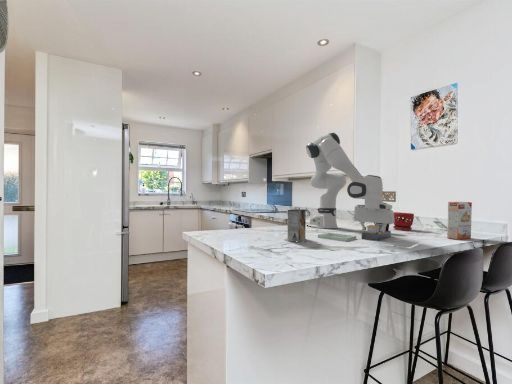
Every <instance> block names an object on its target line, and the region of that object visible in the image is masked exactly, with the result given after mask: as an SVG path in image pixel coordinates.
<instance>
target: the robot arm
mask: <svg viewBox="0 0 512 384" xmlns="http://www.w3.org/2000/svg"><path fill="white" fill-rule="evenodd" d="M340 144H341V140H340V137H339V135H338V134H337V133H336V132H329V133H328V134H324V135H322V136H320V137H318V138H317V139H315V140H312V141H310V142H309V143H307V144H306V146H305V150H306V154H307V155H308V157H309V158H311V159H313V162H314V165H315V173H314V174H313V175H312V177H311V178H310V184H311V186H312V187H313V188H314V189H319V190H321V189H322V190H323V189H326V190H327V191H326V192H325V193H323V194H322V195H321V196H320V198H319V207H318V208H316V211H317V212H316V214H314V215H313V216H311V217H310V220H309V223H308V224H306V226H307V225H308V226H307V227H309V226H311V227H310V228H316V229H338V228H339V227H338V223H337V208H336V206H337V197H338V194H339V192H340V191H341V190H342V189H343V188H344V187H345V186H346V184H347V177H348V178H349V180H350V181H351V182H350V183H349V184H348V186H347V187H346V188H347V189H346V191H347V194H348V196H349V197H350V198H352V199H356V200H357V199H358V200H360V199H362V200H364V204H357V205H355V206H354V215H353V220H354V221H355V222H360V225H361V228H362V231H367V226H365V223H373V224H374V223H375V224H376V223H383V228H381V229H380V232H384V229H385V227H386V226H387V224H389V225H394V213H393V212H394V211H393V210H392V209H393V205H392V204H389V203H387V202H384V201H383V192H384V190H383V189H384V187H383V179H382V177H381V176H379V175H373V174H367V175H365V176H363V175H362V174H361V172H359V170H358V168H356V166H355V165H354V164H353V163H352V161H351V160H350V158H349V157H348V156H347V153H346V152H345V151H344V149H343V148H342V146H341V145H340ZM332 168H333V169H335V170H338V171H340V172H342V173H344V174H345V175H346V176H347V177H346V176H345V175H344V174H342V173H337V172H334V173H327V172H329V171H330V170H331V169H332Z"/></svg>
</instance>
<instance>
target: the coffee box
mask: <svg viewBox="0 0 512 384" xmlns="http://www.w3.org/2000/svg"><path fill="white" fill-rule="evenodd" d="M306 212H307V211H306V209H303V208H302V209H301V208H293V209H287V241H288V242H290V241H297V242H296V243H301V242H303V241H304V240H306V227H307V224H306V222H307V221H306V216H307V215H306V214H307V213H306ZM300 241H301V242H300Z"/></svg>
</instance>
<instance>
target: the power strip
mask: <svg viewBox="0 0 512 384" xmlns="http://www.w3.org/2000/svg"><path fill="white" fill-rule="evenodd" d="M391 237H392V231H391V230H389V231H388V230H386V231H385V232H379V233H377V234H374V233H367V230H365V231H362V232H361V240H367V241H375V242H378V241H379V242H380V241H382V240H384V239H388V238H391Z"/></svg>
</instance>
